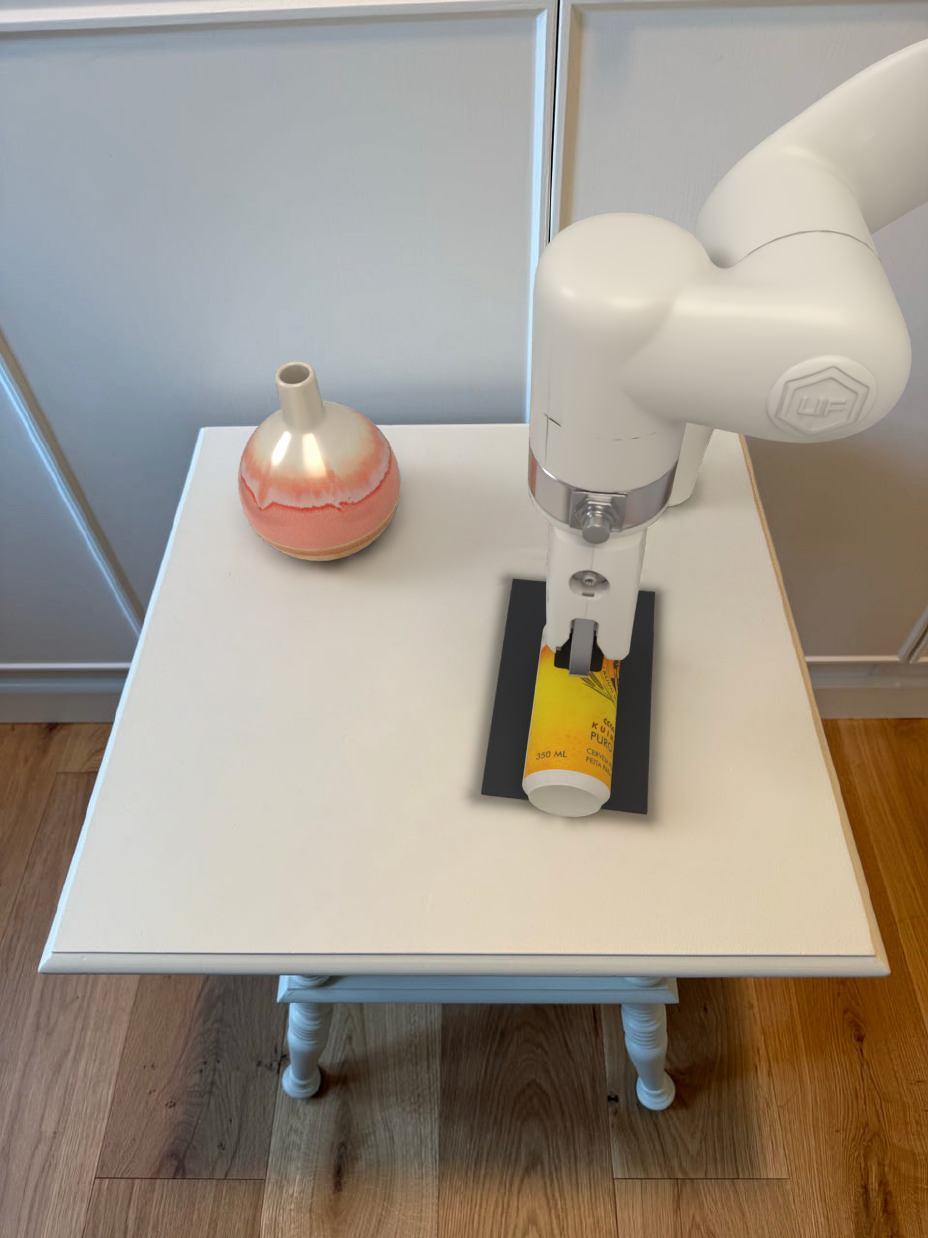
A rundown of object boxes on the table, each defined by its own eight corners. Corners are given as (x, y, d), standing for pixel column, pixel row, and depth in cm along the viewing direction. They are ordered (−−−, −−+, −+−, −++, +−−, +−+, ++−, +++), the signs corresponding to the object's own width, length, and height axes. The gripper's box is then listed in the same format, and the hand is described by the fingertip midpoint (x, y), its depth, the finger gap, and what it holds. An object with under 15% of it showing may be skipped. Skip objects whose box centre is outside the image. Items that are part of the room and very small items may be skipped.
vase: (375, 456, 88) (350, 297, 74) (429, 556, 81) (412, 401, 67) (237, 502, 86) (183, 345, 71) (280, 610, 78) (229, 459, 64)
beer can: (607, 784, 60) (621, 602, 69) (515, 778, 62) (540, 600, 70) (611, 823, 65) (623, 648, 74) (526, 816, 66) (548, 645, 75)
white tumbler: (706, 514, 83) (741, 381, 70) (631, 516, 83) (652, 385, 71) (694, 460, 87) (725, 326, 74) (622, 463, 87) (641, 329, 74)
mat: (654, 594, 78) (655, 591, 77) (646, 814, 66) (647, 812, 66) (512, 581, 79) (512, 578, 79) (481, 794, 68) (481, 792, 67)
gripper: (673, 586, 43) (629, 766, 57) (677, 374, 51) (638, 578, 66) (511, 571, 43) (509, 752, 58) (542, 365, 52) (534, 569, 67)
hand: (578, 660), depth 62 cm, fingers closed
